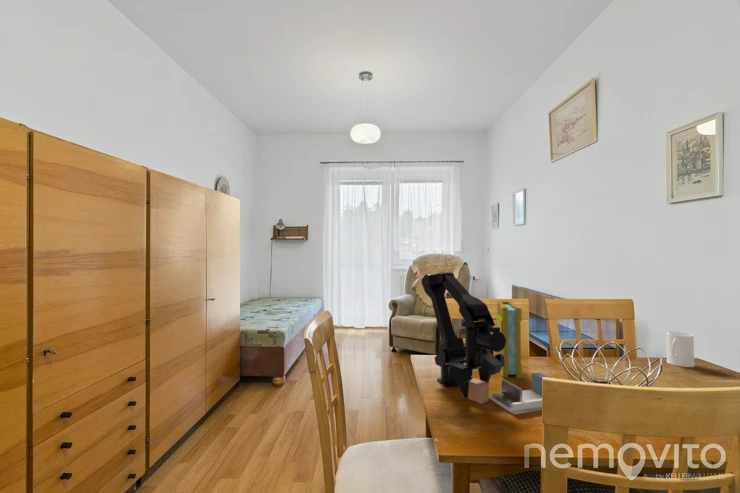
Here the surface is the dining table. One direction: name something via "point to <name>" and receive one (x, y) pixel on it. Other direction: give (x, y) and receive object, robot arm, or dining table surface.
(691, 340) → the mug
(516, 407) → the shelf
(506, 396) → the bookend
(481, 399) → the book block
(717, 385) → the dining table surface
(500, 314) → the book
